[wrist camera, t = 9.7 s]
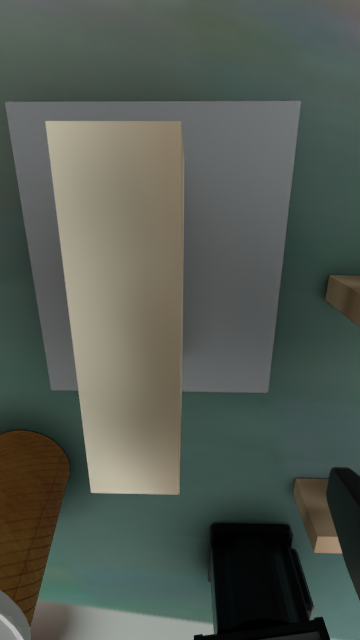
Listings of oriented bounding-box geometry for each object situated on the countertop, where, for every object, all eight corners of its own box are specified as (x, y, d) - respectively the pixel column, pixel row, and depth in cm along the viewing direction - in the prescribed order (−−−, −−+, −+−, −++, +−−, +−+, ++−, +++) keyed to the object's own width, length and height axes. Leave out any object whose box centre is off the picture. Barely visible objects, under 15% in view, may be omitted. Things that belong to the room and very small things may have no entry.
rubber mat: (55, 383, 22) (51, 390, 22) (13, 105, 17) (4, 101, 16) (265, 386, 22) (268, 392, 21) (295, 105, 16) (301, 100, 16)
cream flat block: (134, 356, 21) (90, 493, 11) (124, 160, 17) (45, 120, 7) (182, 357, 21) (179, 494, 11) (184, 160, 17) (180, 120, 7)
